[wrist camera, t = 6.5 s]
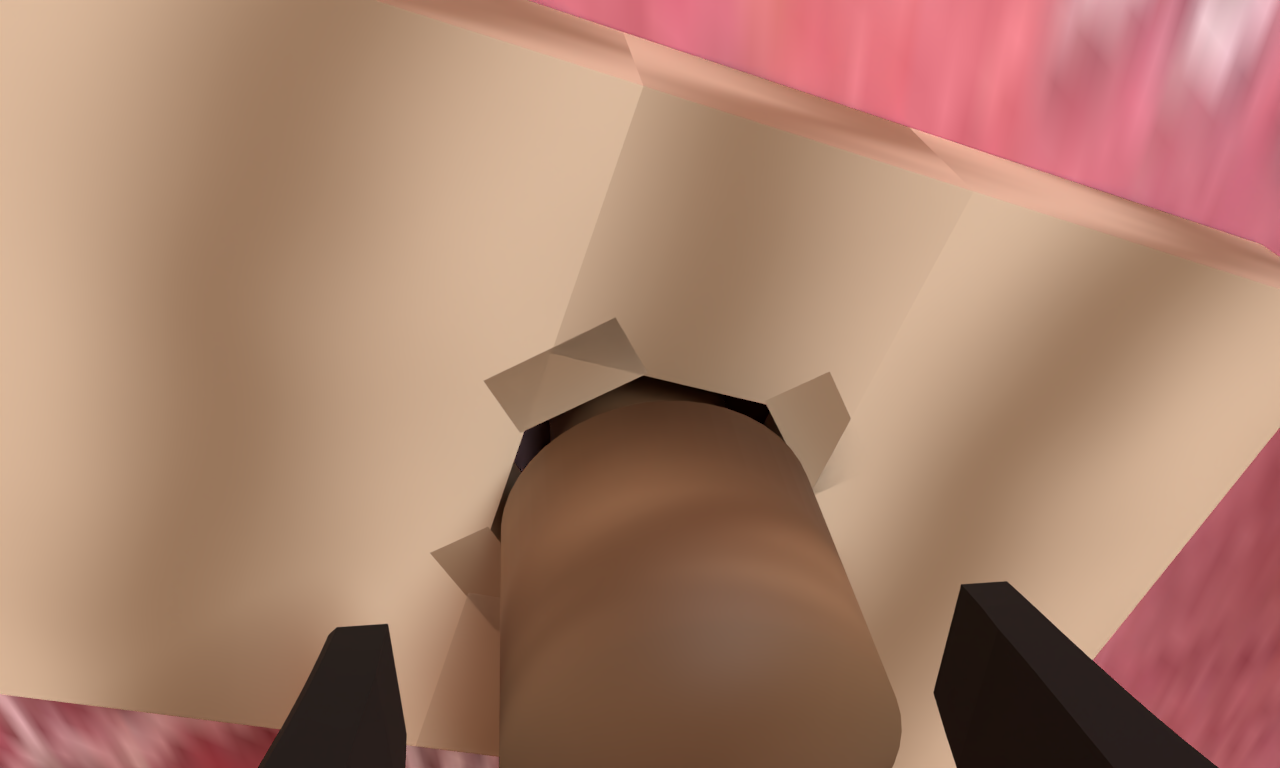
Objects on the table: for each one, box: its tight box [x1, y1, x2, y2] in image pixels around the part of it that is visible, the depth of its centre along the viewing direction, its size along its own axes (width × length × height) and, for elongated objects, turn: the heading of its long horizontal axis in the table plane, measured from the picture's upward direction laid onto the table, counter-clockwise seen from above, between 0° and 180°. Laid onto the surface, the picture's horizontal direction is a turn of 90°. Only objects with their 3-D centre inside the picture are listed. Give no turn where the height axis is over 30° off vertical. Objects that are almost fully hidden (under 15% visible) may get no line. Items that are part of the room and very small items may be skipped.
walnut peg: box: [499, 375, 902, 768], centre depth 14 cm, size 5×5×7 cm
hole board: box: [0, 0, 1280, 768], centre depth 16 cm, size 18×12×2 cm, turn 70°
